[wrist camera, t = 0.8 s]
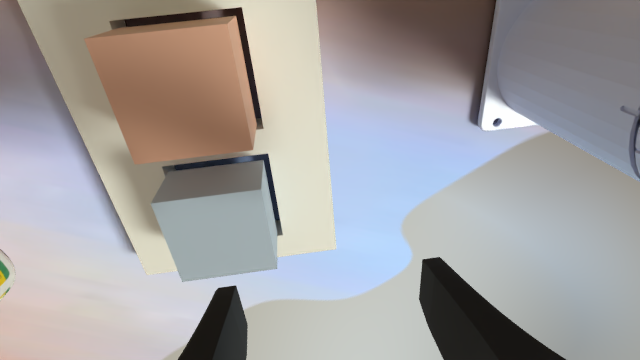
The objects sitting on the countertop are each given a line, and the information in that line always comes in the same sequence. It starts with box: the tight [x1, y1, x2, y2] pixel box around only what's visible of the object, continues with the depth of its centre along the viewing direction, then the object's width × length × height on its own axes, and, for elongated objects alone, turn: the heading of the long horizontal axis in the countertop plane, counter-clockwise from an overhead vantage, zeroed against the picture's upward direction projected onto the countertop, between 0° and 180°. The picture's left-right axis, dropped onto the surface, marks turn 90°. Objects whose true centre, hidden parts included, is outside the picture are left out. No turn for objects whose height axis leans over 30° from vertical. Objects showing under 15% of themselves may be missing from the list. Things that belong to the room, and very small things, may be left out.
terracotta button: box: [84, 16, 257, 165], centre depth 15 cm, size 5×5×3 cm
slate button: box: [151, 160, 277, 282], centre depth 18 cm, size 5×5×3 cm
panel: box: [17, 0, 336, 275], centre depth 17 cm, size 12×23×2 cm, turn 5°
